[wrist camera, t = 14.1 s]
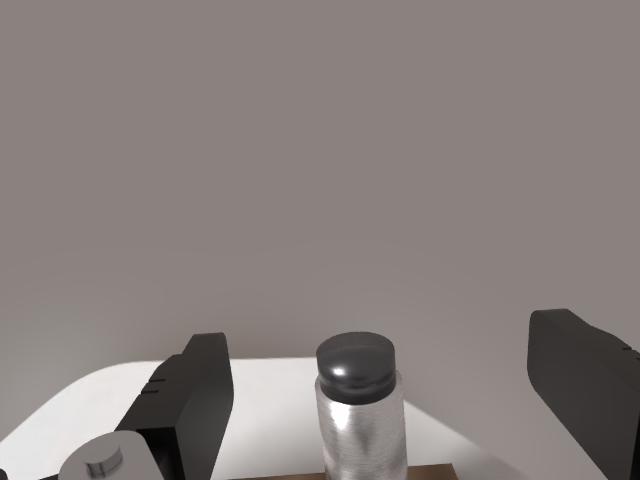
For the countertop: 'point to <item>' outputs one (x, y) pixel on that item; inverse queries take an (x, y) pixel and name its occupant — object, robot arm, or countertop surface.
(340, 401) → the pepper grinder
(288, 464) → the countertop surface
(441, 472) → the walnut board
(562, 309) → the robot arm
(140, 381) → the countertop surface
